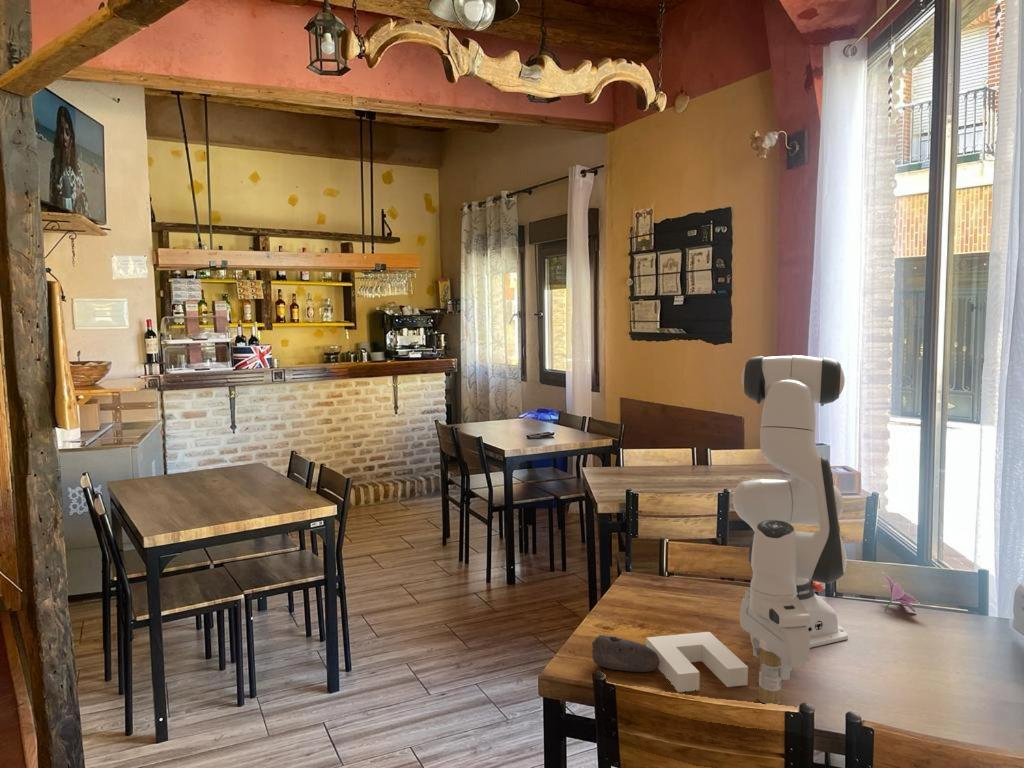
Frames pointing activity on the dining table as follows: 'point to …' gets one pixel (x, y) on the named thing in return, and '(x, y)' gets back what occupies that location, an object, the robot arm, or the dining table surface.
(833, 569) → the robot arm
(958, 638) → the dining table surface
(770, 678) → the sprinkles bottle
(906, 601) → the lily
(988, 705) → the dining table surface
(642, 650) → the perforated stone tool
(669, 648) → the slotted plate
